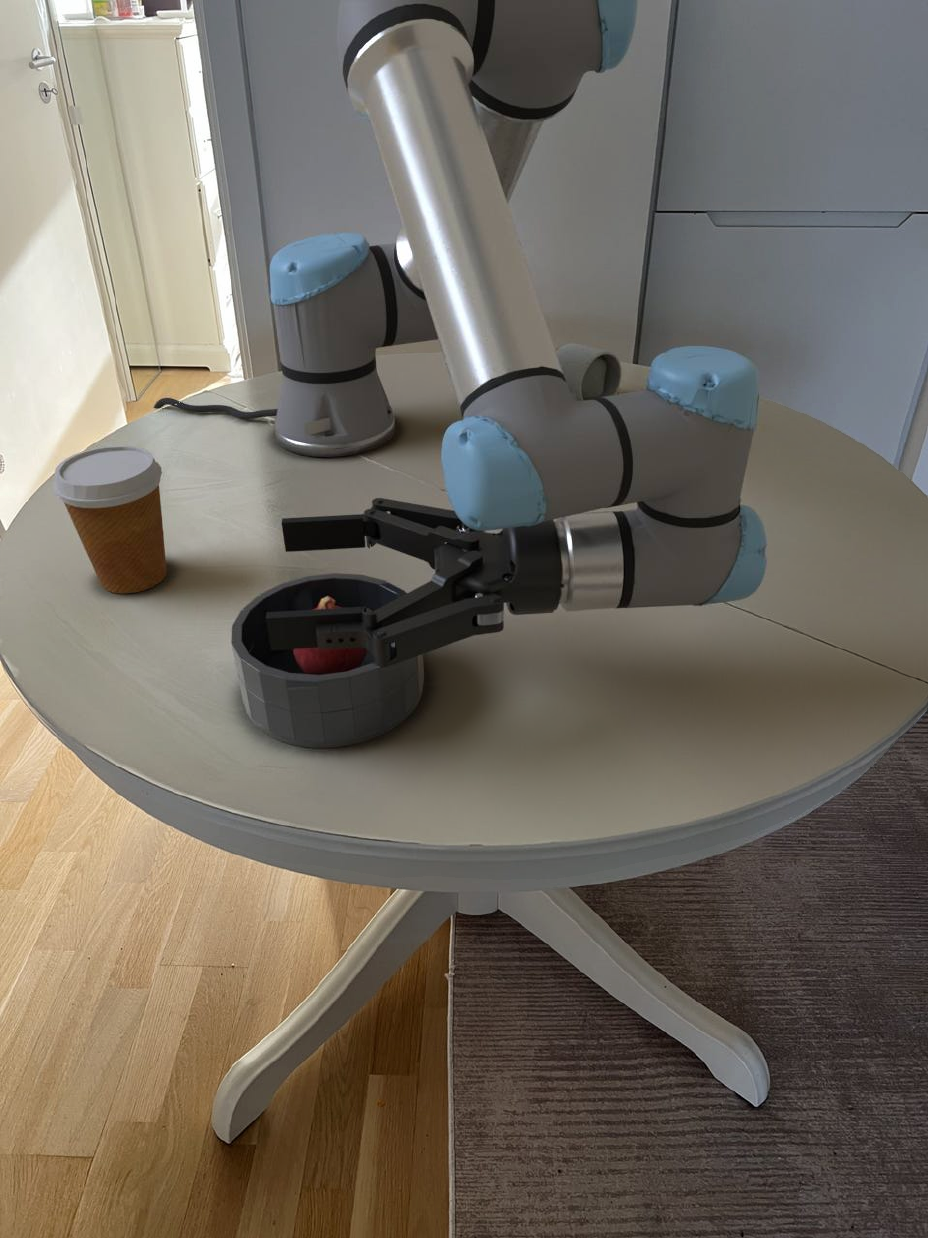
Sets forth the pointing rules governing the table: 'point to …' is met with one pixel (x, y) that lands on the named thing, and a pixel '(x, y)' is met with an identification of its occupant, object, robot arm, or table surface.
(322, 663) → the onion
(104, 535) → the disposable coffee cup
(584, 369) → the ceramic mug
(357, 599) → the pot
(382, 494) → the table surface
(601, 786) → the table surface
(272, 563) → the table surface
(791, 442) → the table surface
